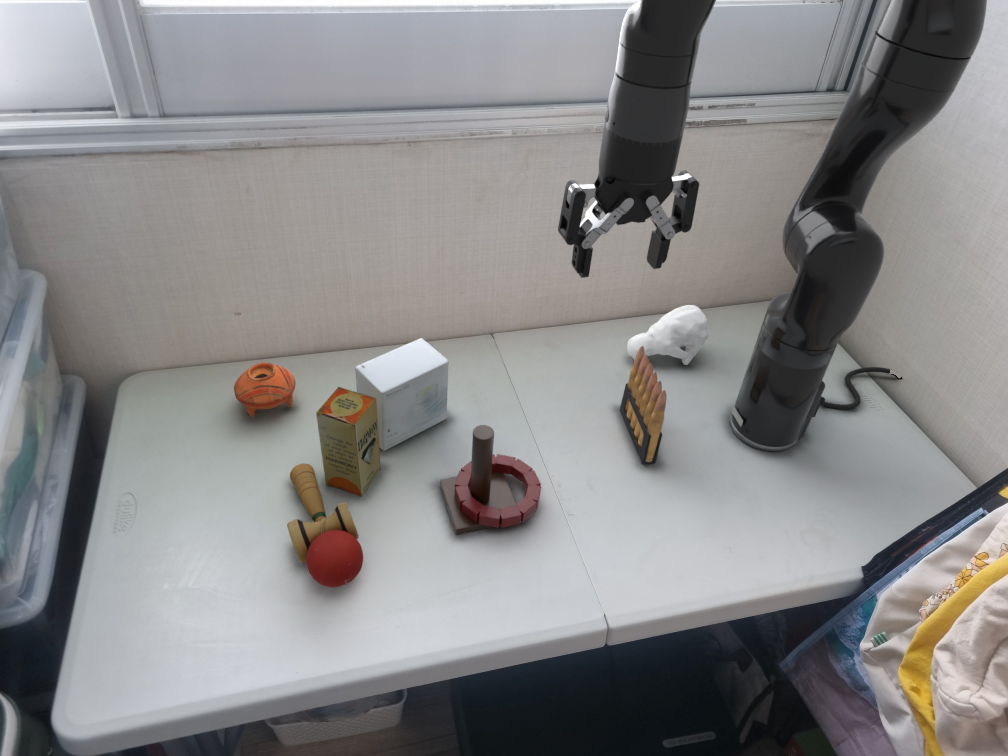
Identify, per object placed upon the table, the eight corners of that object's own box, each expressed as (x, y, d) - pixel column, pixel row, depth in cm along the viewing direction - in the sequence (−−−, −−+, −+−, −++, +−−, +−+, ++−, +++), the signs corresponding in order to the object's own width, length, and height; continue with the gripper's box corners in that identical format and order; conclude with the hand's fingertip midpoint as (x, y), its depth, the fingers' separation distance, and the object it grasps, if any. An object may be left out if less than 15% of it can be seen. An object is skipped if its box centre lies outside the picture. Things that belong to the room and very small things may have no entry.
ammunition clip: (655, 463, 100) (674, 394, 93) (642, 464, 100) (659, 396, 92) (631, 408, 108) (647, 341, 101) (619, 409, 108) (633, 342, 100)
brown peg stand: (501, 473, 97) (506, 403, 90) (520, 521, 92) (528, 450, 84) (439, 485, 95) (440, 414, 88) (456, 535, 89) (458, 463, 82)
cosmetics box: (385, 453, 99) (381, 392, 92) (357, 426, 102) (352, 365, 96) (449, 419, 104) (450, 359, 98) (421, 394, 108) (420, 335, 101)
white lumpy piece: (716, 317, 111) (639, 334, 109) (707, 362, 117) (634, 378, 115) (696, 293, 116) (622, 308, 114) (689, 338, 121) (618, 353, 119)
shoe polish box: (325, 484, 94) (316, 412, 86) (345, 457, 98) (338, 386, 90) (361, 496, 93) (355, 425, 85) (380, 469, 97) (376, 398, 89)
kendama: (266, 501, 93) (303, 606, 80) (267, 458, 90) (305, 560, 77) (329, 491, 97) (374, 590, 83) (332, 450, 94) (379, 545, 80)
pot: (274, 432, 100) (256, 391, 96) (234, 420, 104) (215, 380, 100) (315, 397, 105) (299, 356, 101) (274, 387, 109) (258, 347, 105)
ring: (522, 456, 98) (523, 448, 97) (551, 516, 91) (552, 507, 90) (445, 472, 96) (445, 463, 95) (469, 535, 88) (469, 526, 87)
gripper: (590, 144, 68) (569, 296, 79) (730, 134, 72) (692, 280, 82) (560, 112, 74) (544, 258, 84) (692, 104, 77) (661, 245, 88)
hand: (618, 269), depth 83 cm, fingers open, 8 cm apart
